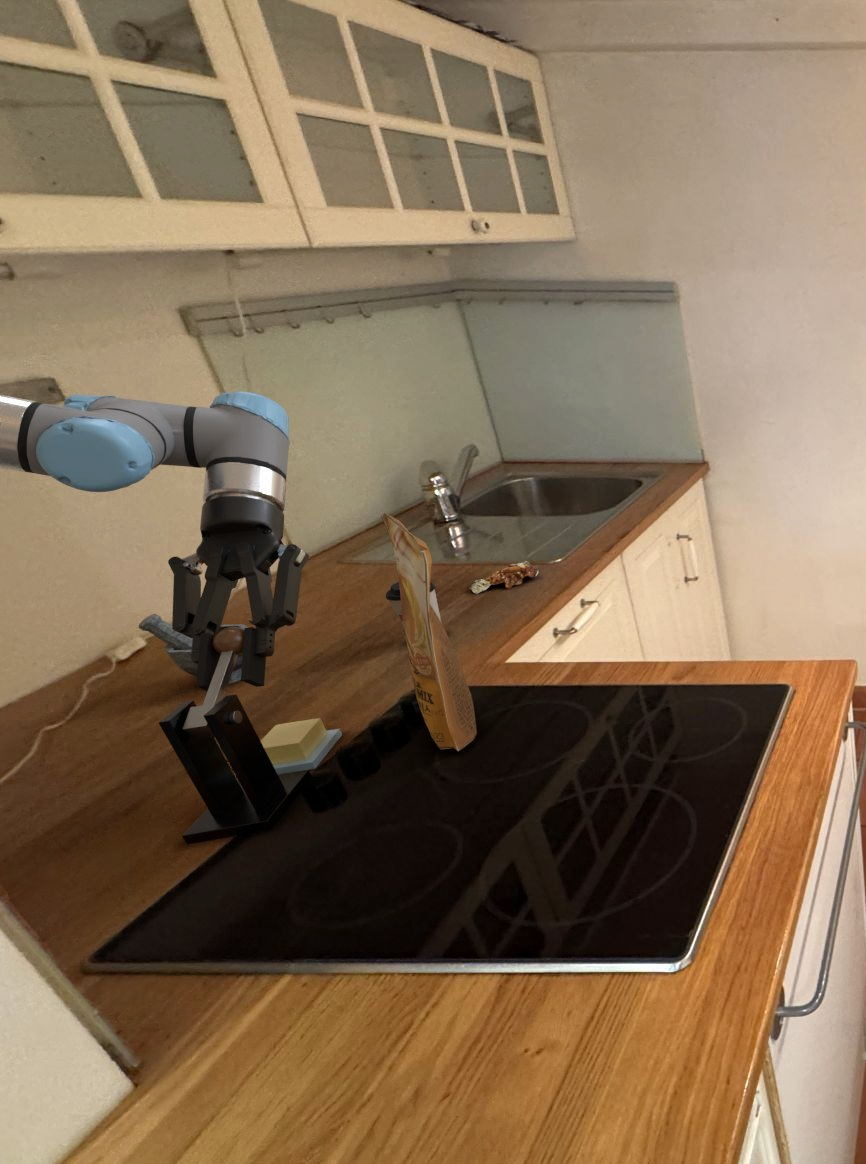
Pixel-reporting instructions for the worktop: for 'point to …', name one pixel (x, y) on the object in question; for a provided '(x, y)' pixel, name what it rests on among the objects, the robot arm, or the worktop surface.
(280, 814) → the lever base
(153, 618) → the mortar and pestle
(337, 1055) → the worktop surface
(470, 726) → the pancake mix bag
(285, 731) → the butter dish
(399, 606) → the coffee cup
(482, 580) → the pastry
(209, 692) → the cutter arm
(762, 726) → the worktop surface
